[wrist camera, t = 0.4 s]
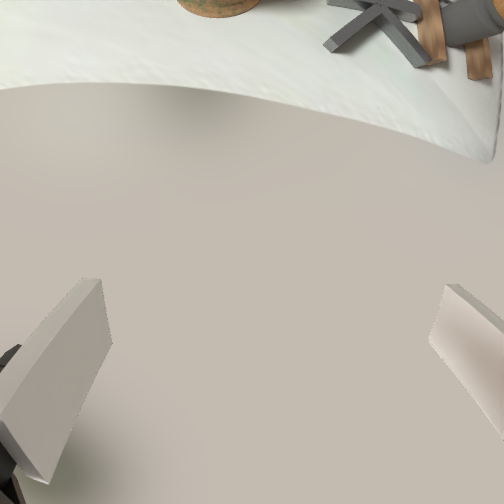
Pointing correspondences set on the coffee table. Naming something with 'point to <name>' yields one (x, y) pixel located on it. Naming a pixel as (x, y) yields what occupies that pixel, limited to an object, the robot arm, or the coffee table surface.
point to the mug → (217, 7)
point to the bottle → (471, 20)
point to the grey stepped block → (445, 2)
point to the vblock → (383, 25)
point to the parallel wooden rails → (435, 42)
